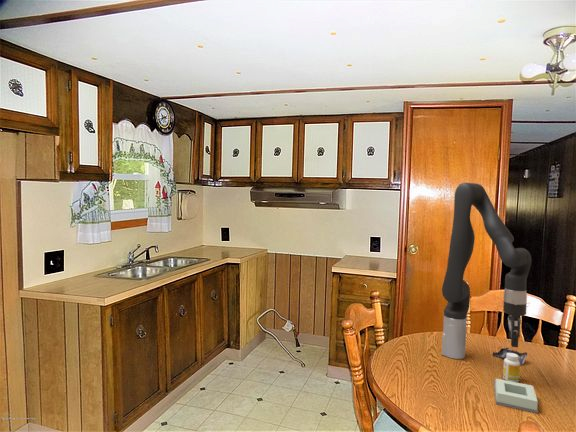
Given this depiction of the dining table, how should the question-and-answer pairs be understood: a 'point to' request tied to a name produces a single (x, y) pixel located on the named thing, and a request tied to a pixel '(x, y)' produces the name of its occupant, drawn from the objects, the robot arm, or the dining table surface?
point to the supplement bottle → (511, 367)
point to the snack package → (504, 351)
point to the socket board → (515, 395)
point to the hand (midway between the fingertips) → (513, 342)
